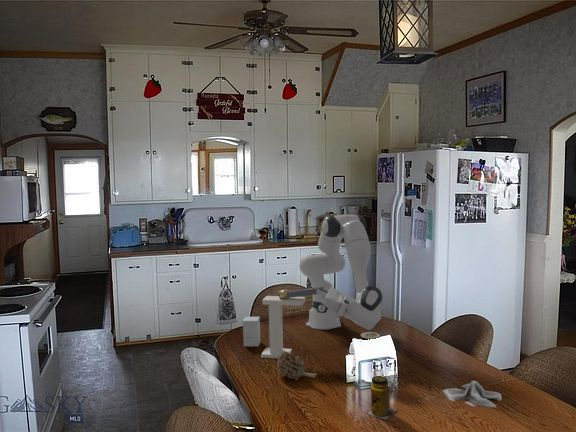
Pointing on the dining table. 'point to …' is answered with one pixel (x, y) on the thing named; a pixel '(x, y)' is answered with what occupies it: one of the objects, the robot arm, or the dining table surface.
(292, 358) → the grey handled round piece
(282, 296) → the link bar
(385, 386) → the condiment
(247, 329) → the supplement box
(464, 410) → the dining table surface
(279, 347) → the stand
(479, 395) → the cloth
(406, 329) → the dining table surface
